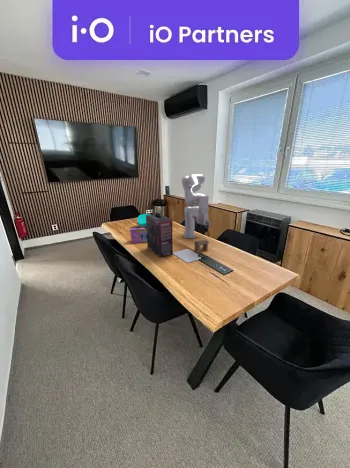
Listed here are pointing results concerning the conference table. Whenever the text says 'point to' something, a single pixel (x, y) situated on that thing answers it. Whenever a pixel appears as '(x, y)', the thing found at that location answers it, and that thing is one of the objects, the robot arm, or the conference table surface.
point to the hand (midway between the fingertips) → (202, 230)
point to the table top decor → (142, 219)
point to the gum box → (138, 234)
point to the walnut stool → (201, 242)
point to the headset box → (159, 234)
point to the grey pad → (187, 255)
